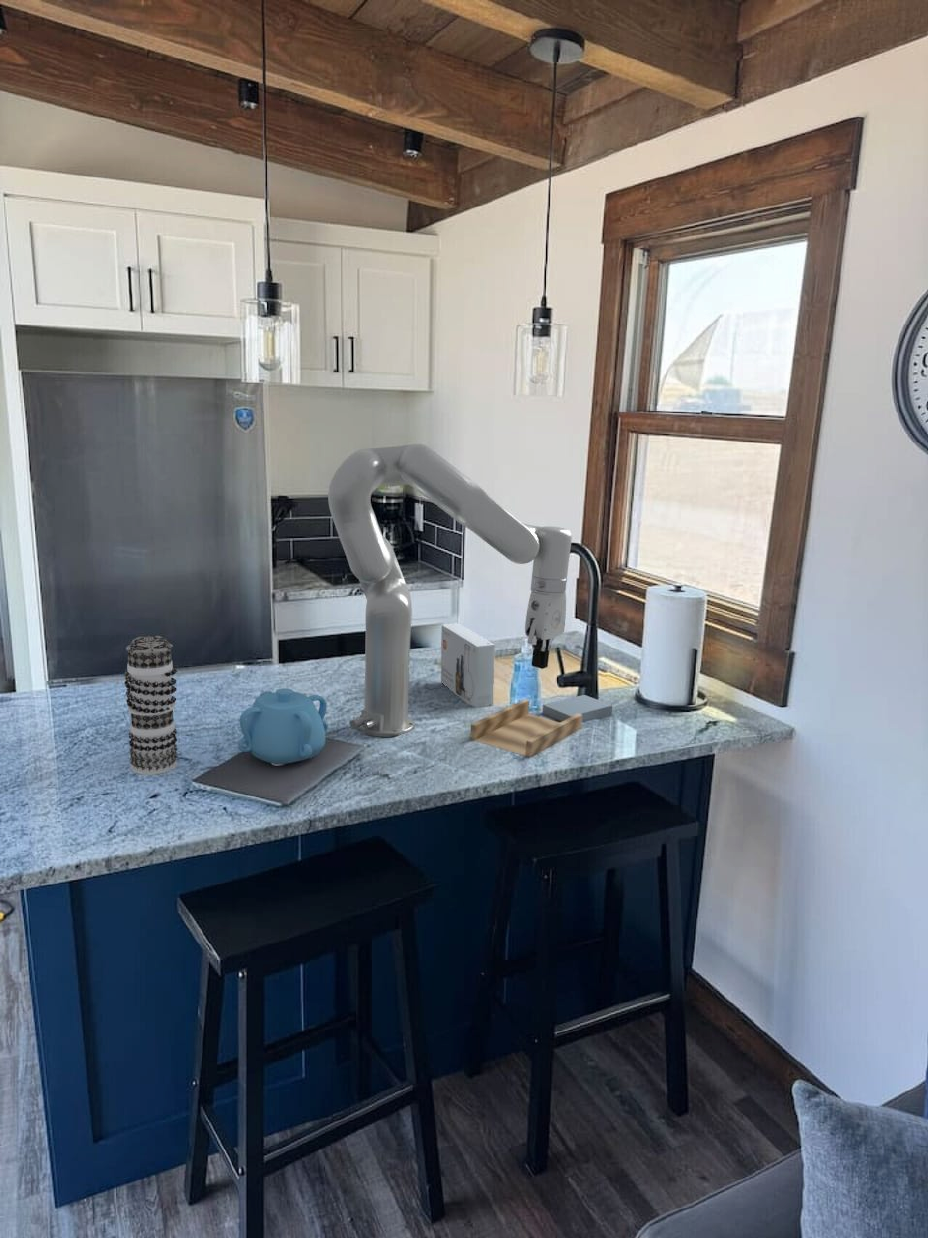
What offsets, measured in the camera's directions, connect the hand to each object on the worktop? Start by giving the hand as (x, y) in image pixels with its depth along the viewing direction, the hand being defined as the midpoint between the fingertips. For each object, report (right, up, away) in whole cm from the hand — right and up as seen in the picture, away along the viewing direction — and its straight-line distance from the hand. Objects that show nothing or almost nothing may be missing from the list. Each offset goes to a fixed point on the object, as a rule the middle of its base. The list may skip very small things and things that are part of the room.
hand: (539, 666), depth 185 cm
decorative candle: (-75, -18, -25) cm, 81 cm away
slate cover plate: (+10, -13, +14) cm, 21 cm away
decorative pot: (-52, -17, -17) cm, 58 cm away
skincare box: (-16, -9, +24) cm, 31 cm away
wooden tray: (-3, -15, 0) cm, 15 cm away
